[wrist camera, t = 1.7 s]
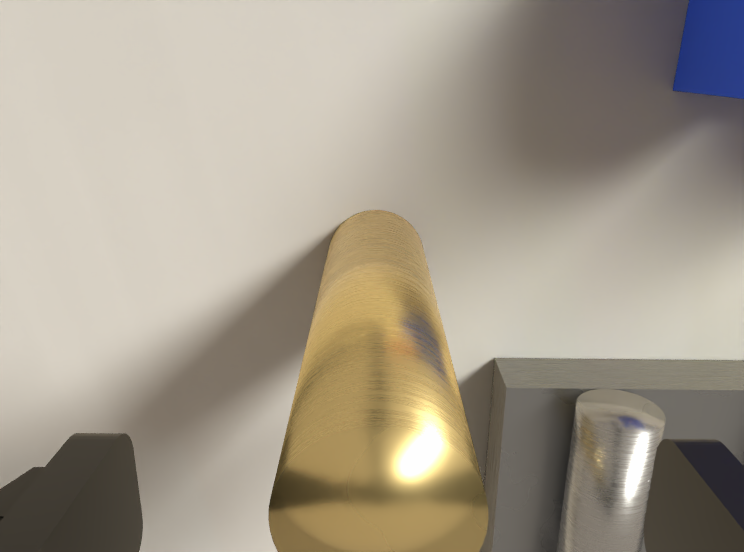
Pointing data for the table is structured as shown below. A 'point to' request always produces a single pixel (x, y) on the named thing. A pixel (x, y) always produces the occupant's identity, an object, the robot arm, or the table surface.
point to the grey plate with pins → (594, 445)
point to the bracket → (712, 49)
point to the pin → (377, 411)
